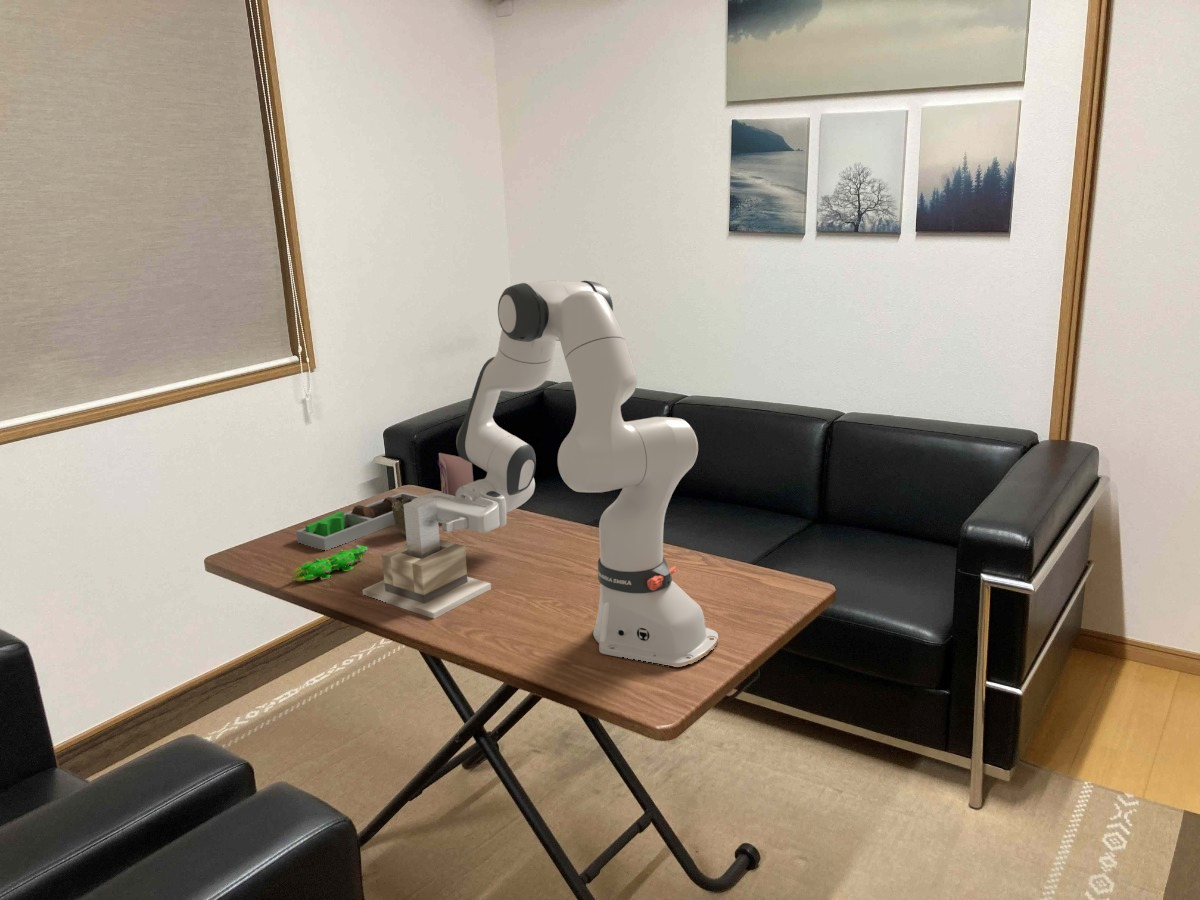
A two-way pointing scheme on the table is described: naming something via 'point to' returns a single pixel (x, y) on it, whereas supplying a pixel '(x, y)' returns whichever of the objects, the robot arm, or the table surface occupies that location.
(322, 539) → the parts tray
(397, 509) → the cup
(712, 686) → the table surface
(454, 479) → the greeting card
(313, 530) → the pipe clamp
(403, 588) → the square socket base
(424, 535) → the grey rectangular bar
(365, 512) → the bolt
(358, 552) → the crocodile figurine
